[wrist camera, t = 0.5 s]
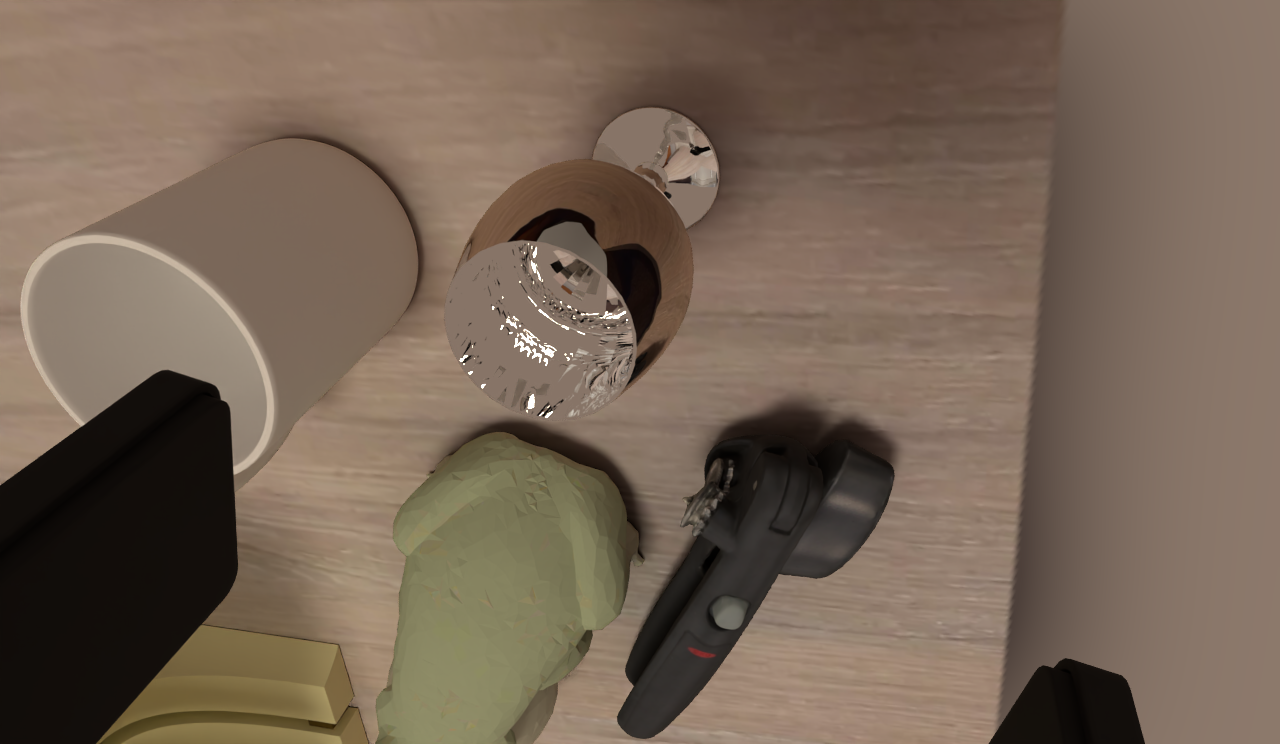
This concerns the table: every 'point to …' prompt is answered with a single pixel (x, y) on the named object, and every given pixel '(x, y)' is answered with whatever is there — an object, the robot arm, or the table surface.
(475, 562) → the figurine
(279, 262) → the cup
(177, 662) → the slatted curved stool
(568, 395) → the wineglass
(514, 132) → the table surface
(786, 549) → the can opener
